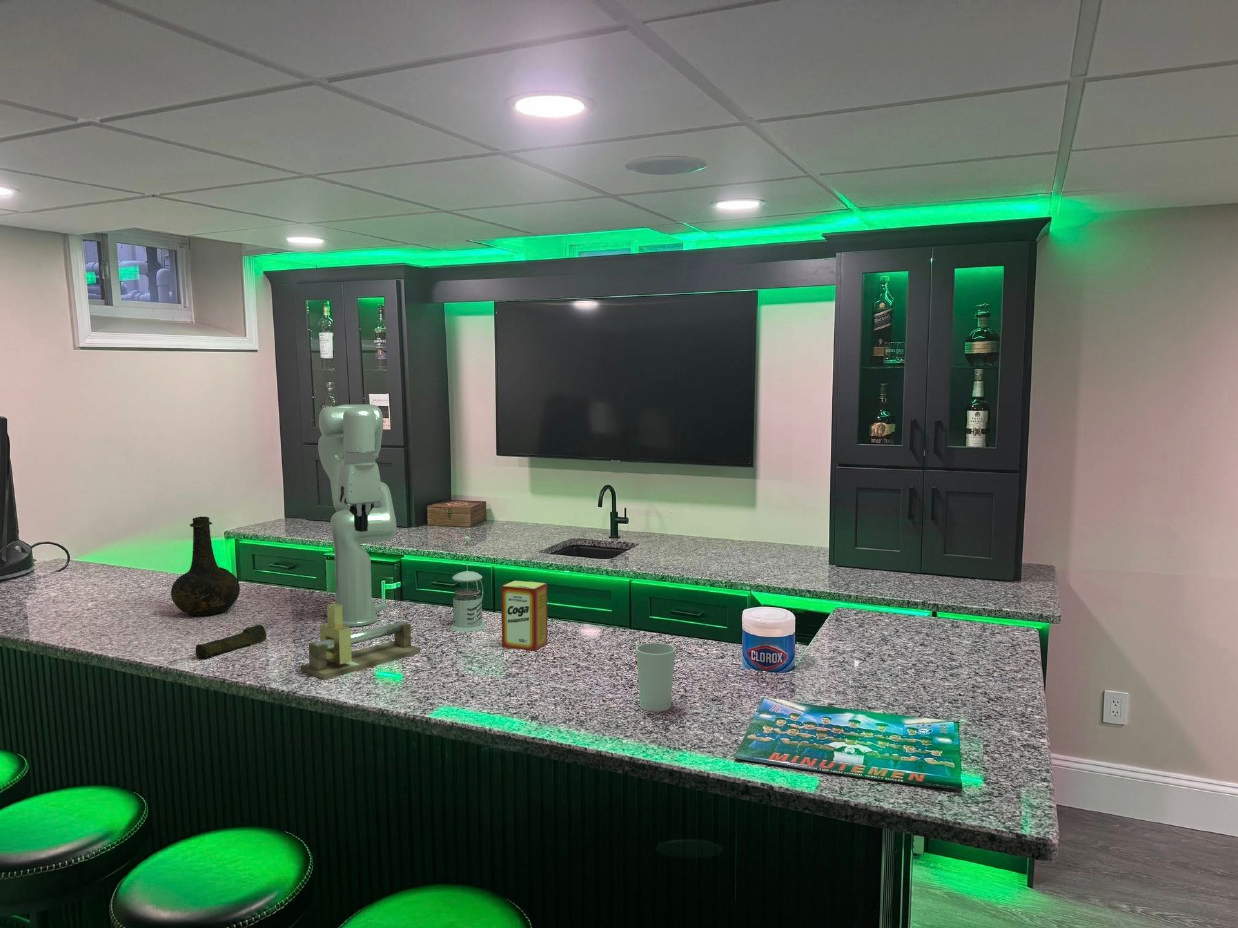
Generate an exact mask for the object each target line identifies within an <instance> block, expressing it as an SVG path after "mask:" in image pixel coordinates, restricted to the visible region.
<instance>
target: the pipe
mask: <svg viewBox="0 0 1238 928" xmlns="http://www.w3.org/2000/svg"><path fill="white" fill-rule="evenodd" d="M398 622H399V623H396V622H394V623H395V624H394V623H392V624H391V623H390V624H387V625H384V626H383V625H382V626H379V627H374V628H371V629H366V630H363V631H359V632H354V633H351V646H352V645H356V644H359V643H363V642H366V641H367V642H369V641H370V640H371V641H372V640H376V639H378V638H383V637H387V636H391V635H394V634H395V633H399V632H401V631H402V626H401V625H403V624H406V623H407V622H406V621H402V622H400V621H398ZM315 642H316V643H314V644H315V645H322V644H325V645H326V651H328V650H332V649H334V638H333V639H329V640H325V641H321V642H320V641H315Z"/></svg>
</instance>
